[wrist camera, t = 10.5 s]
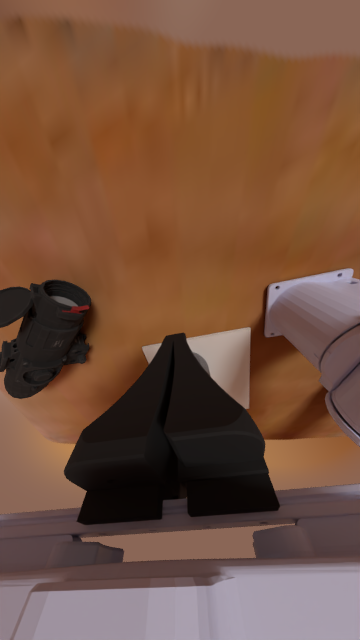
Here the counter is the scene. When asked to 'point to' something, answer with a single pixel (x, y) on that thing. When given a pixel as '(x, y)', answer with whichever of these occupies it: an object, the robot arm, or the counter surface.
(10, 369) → the night vision scope
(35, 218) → the counter surface
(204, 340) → the mat
